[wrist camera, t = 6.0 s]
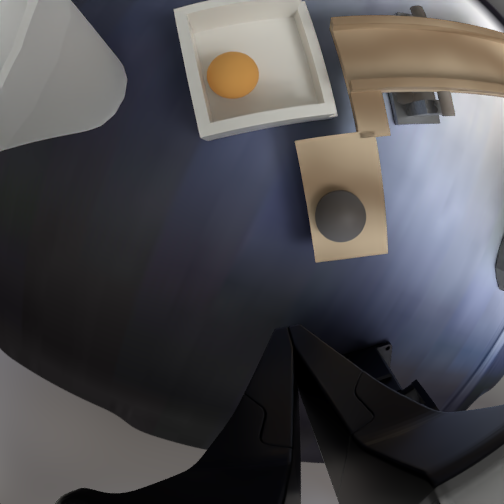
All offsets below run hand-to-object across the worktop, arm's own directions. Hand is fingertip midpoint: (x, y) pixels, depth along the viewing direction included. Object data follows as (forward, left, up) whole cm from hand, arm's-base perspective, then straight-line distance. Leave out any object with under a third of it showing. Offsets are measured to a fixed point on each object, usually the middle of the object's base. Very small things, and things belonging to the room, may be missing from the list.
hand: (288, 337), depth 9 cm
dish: (+12, -2, -12) cm, 17 cm away
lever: (+7, -15, -9) cm, 19 cm away
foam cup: (+14, +10, -12) cm, 21 cm away
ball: (+11, 0, -10) cm, 15 cm away
